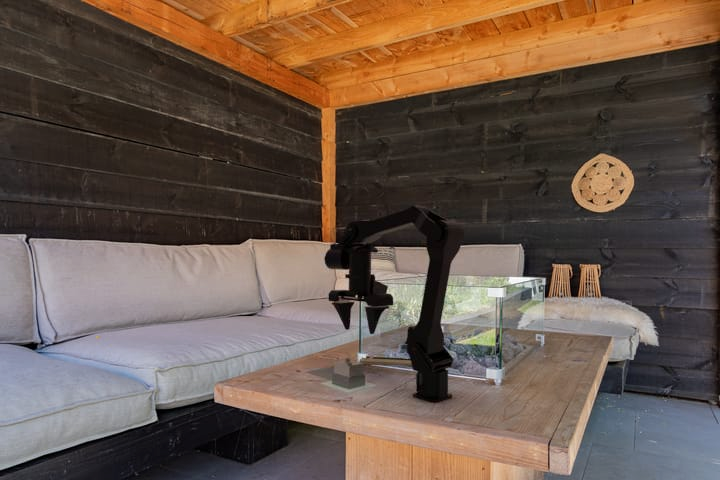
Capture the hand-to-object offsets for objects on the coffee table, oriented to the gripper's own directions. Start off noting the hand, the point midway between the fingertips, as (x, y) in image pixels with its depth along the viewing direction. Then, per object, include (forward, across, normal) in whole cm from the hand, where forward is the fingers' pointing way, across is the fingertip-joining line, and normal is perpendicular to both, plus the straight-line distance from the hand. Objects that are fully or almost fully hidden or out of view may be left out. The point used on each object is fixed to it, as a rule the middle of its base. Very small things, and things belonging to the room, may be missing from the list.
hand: (359, 331), depth 122 cm
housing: (+10, -6, +9) cm, 15 cm away
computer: (+13, +4, -15) cm, 20 cm away
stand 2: (+12, -6, +9) cm, 16 cm away
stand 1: (+12, +5, +5) cm, 14 cm away
